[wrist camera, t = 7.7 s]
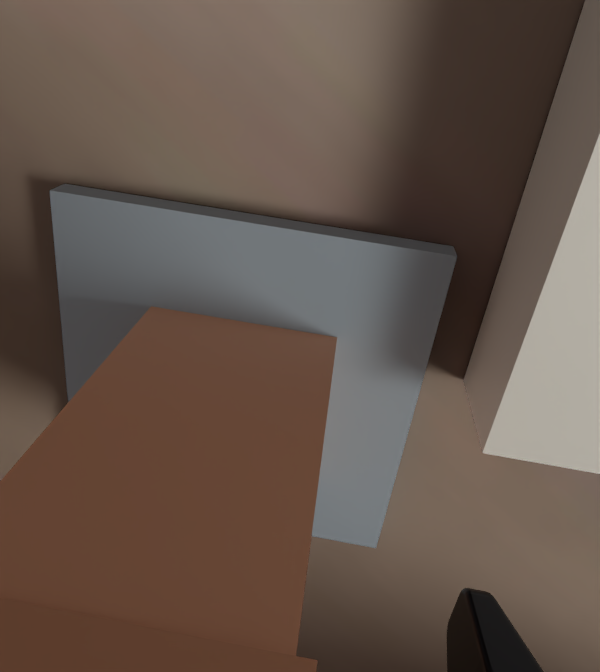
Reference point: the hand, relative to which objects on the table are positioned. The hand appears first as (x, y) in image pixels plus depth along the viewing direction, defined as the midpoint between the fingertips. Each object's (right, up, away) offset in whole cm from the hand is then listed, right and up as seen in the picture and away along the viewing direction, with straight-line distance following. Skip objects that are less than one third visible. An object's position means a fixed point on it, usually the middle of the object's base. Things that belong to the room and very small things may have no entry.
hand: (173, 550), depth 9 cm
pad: (+1, +2, +4) cm, 5 cm away
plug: (+1, +2, +4) cm, 4 cm away
